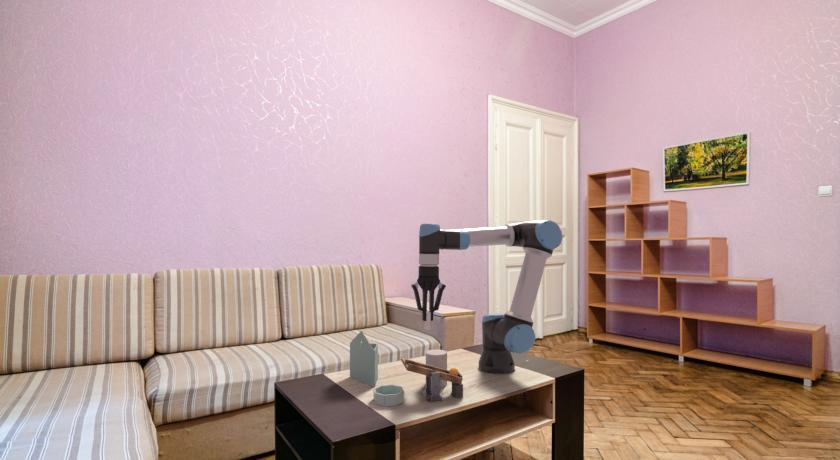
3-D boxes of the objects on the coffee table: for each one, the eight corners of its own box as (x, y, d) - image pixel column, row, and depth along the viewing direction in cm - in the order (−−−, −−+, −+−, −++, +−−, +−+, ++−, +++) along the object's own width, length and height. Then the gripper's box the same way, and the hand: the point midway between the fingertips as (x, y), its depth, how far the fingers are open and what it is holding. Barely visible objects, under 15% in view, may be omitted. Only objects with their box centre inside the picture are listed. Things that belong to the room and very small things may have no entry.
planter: (390, 382, 170) (390, 331, 170) (373, 387, 164) (373, 334, 165) (365, 372, 182) (365, 324, 182) (349, 377, 177) (349, 327, 177)
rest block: (458, 391, 160) (458, 379, 160) (463, 397, 154) (463, 384, 154) (451, 391, 159) (451, 379, 159) (456, 397, 153) (456, 385, 153)
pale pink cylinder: (445, 388, 163) (445, 355, 163) (423, 386, 165) (423, 354, 165) (448, 381, 171) (448, 350, 171) (427, 379, 173) (427, 349, 173)
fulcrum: (436, 390, 160) (435, 364, 160) (443, 401, 150) (443, 373, 150) (422, 391, 159) (422, 365, 159) (428, 402, 149) (428, 374, 149)
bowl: (400, 393, 157) (400, 384, 157) (405, 404, 148) (405, 393, 148) (372, 396, 155) (372, 386, 155) (375, 406, 146) (375, 396, 146)
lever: (450, 372, 167) (452, 365, 167) (460, 384, 154) (463, 376, 154) (400, 359, 163) (402, 352, 163) (407, 370, 150) (409, 362, 150)
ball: (455, 377, 158) (458, 367, 159) (458, 380, 155) (461, 370, 155) (446, 375, 158) (449, 365, 158) (449, 378, 154) (451, 368, 154)
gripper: (443, 265, 168) (442, 327, 167) (409, 264, 165) (408, 328, 164) (448, 266, 160) (447, 331, 160) (413, 265, 158) (412, 332, 157)
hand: (427, 329), depth 162 cm, fingers closed
